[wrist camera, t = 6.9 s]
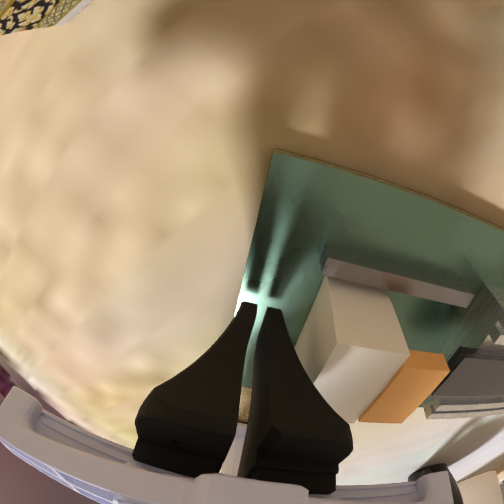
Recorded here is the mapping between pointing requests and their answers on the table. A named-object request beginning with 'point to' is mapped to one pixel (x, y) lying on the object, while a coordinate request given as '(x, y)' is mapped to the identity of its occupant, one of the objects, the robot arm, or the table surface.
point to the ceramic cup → (37, 13)
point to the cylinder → (481, 489)
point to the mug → (438, 468)
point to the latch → (364, 355)
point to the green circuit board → (378, 263)
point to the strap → (473, 373)
